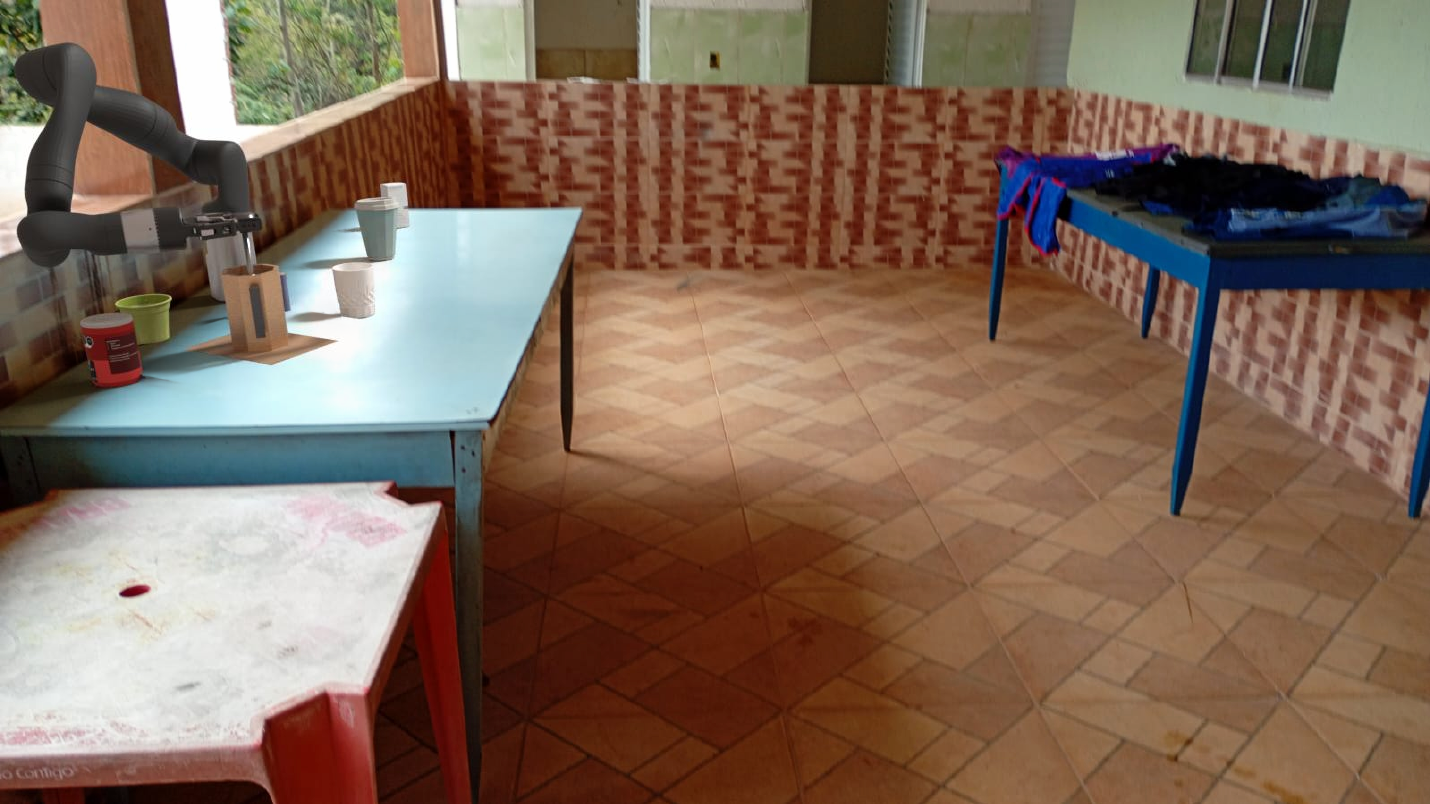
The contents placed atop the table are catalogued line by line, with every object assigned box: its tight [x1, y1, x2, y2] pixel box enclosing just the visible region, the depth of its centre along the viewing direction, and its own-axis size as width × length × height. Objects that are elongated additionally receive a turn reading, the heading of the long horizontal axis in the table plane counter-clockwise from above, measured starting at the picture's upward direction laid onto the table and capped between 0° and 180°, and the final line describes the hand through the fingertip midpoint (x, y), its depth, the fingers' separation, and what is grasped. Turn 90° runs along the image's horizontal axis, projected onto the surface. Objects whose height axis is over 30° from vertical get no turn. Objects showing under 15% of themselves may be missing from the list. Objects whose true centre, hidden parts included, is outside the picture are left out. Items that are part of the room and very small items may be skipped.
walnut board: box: [183, 332, 338, 366], centre depth 208 cm, size 22×16×1 cm
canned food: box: [79, 312, 144, 388], centre depth 191 cm, size 8×8×11 cm
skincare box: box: [379, 181, 411, 229], centre depth 318 cm, size 6×4×12 cm
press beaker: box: [221, 263, 289, 353], centre depth 205 cm, size 11×10×14 cm
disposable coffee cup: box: [354, 196, 400, 262], centre depth 279 cm, size 11×11×15 cm
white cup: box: [331, 261, 376, 319], centre depth 230 cm, size 8×8×10 cm
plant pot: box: [114, 293, 173, 346], centre depth 211 cm, size 9×9×9 cm
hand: (259, 221), depth 202 cm, fingers closed on plunger, 4 cm apart
